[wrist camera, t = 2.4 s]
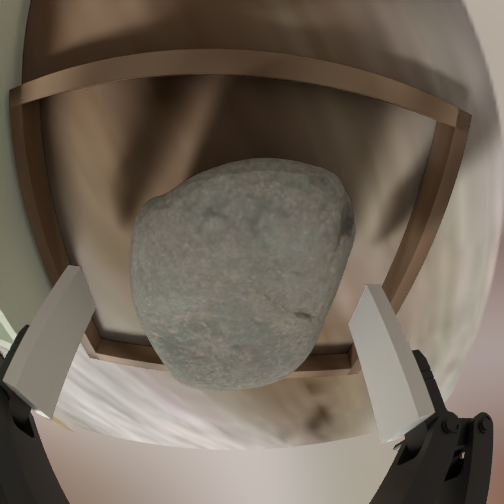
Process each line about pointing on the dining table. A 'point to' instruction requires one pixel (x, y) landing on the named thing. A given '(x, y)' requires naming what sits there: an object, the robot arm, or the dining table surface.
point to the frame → (250, 65)
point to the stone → (240, 270)
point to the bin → (15, 195)
